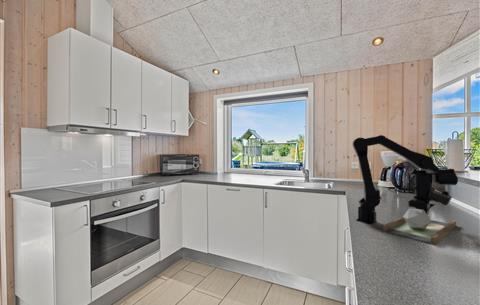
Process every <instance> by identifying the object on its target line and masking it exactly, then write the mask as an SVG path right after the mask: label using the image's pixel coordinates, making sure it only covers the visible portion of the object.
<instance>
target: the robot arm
mask: <svg viewBox="0 0 480 305" xmlns="http://www.w3.org/2000/svg"><path fill="white" fill-rule="evenodd" d="M375 145H380V146H382V147H383V148H385V149H387V150H389V151H391V152H393V153H395V154H397V155H399V156H400V157H402V158H404V160H406V161H407V162H409V163H410V164H411V165H412V166H414V167H415V168H414V167H413V168H412V169H411V170H410V171H408V174H410V175H414V186H413V190H414V192H415V194H414V196H413V198H412V199H410V200H408V203H407V204H408V205H407V206H408V207H411V208H414V209H424V211H425V212H426V214H427V215H428V216H429V213H430V210H431V208H433V207H435V206H436V204H435V203H440V204H442V205H444V206H447V205H449V204H450V202H451V200H452V198H453V196H452V195H450V191H447V190H443V191H442V192H441V191H438V190H435V189H436V188H435V187H434V186H433V183H435V184H436V185H437V186H457V184H458V181H459V179H458V178H459V177H458V176H457V173H456V172H455V169H454V168H443V169H442V168H439V167H438V166H437V165H436V164H435V163H434V159H433V158H432V157H431V156H428V155H426V154H423V153H420V152H416V151H414V150H411V149H409V148H407V147H405V146H403V145H402V144H399V143H397V142H396V141H393V140H391V139H390V138H388V137H386V136H385V135H383V134H380V135H377V136H371V137H367V138H364V137H357V138H355V139H354V140H353V141H352V148H353V149H354V150H353V151H354V152H355V154H356V156H357V160H358V163H359V168H360V173H361V177H362V178H361V179H362V182H363V197H362V198H361V199H359V201H358V203H359V206H358V207H357V210H358V211H357V218H356V221H357V222H362V223H364V224H365V223H367V224H369V225H370V224H371V225H372V224H374V223H377V221H378V220H377V212H376V207H378V206H379V205H380V204H381V200H382V197H381V192H380V190H379V188H377V187H375V186H374V181H373V177H372V172H371V167H370V163H369V158H368V157H369V156H368V152H369V149H368V148H369V147H370V146H375ZM416 168H417V169H416ZM419 169H420V170H419ZM428 171H429V172H428ZM432 201H433V202H435V203H432Z"/></svg>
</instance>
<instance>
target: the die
mask: <svg viewBox="0 0 480 305" xmlns="http://www.w3.org/2000/svg"><path fill="white" fill-rule="evenodd" d="M402 216H403V218H404V219H405V221H406V223H407V224H408V226H409V227H410V228H414V229H424V230H425V228H426V227H427V226H428V225H429V224H430V223H431V220H432V219H431V218H430V216H429V214H428V215H427V214H426V212H425V211H424V209H416V208H412V207H411V208H408V209H407V210H406V212H405V213H404V214H403V215H402Z"/></svg>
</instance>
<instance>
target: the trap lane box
mask: <svg viewBox="0 0 480 305" xmlns="http://www.w3.org/2000/svg"><path fill="white" fill-rule="evenodd" d="M403 216H404V215H402V216H400V217H398V218H395V219H394V220H392V221H389V222H388V223H385V224H384V225H383V232H385V233H388V234H392V235H395V236H399V237H403V238H407V239H411V240H415V241H419V242H421V243H426V244H429V245H432V246H436V245H437V244H438V243H439V242H440V241H441V240H442V239H443V238H444V237H446V235H447V234H449V233H450V232H451V231H452V230H453V229H454V228H455V227H456V226H457V220H456V219H452V220H451V221H450V222H443V221H438V220H433V219H431V223H430V224H429V225H428V226H427V227H426V228H425V230H424V229H414V228H410V227H409V226H408V224H407V223H406V221H405V219H404V218H403Z"/></svg>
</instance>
